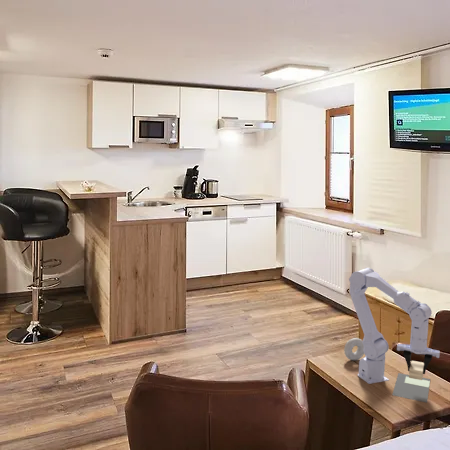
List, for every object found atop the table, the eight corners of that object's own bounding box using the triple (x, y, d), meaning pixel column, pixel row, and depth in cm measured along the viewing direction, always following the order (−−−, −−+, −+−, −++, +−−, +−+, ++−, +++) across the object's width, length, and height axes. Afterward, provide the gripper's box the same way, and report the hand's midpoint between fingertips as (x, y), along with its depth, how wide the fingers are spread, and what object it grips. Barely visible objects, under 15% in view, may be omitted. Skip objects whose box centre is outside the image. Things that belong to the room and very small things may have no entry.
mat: (427, 403, 171) (427, 402, 171) (392, 396, 176) (392, 394, 176) (430, 380, 189) (430, 378, 189) (398, 373, 194) (398, 372, 194)
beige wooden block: (422, 380, 173) (422, 371, 173) (408, 377, 175) (409, 368, 175) (423, 371, 180) (424, 362, 180) (411, 368, 182) (411, 360, 182)
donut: (361, 357, 210) (363, 335, 208) (366, 360, 207) (367, 338, 205) (342, 359, 207) (343, 338, 205) (346, 363, 204) (347, 341, 202)
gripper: (396, 337, 175) (394, 371, 177) (439, 344, 169) (437, 380, 171) (399, 330, 181) (397, 364, 183) (440, 337, 175) (438, 372, 177)
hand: (416, 371), depth 178 cm, fingers closed on beige wooden block, 4 cm apart
